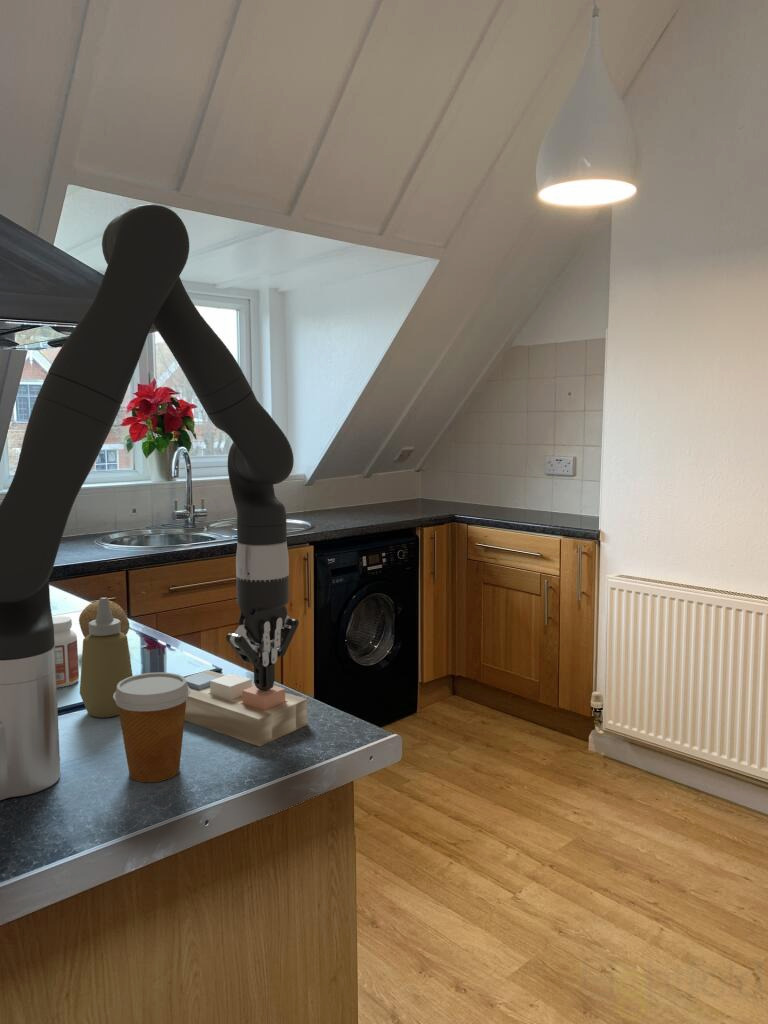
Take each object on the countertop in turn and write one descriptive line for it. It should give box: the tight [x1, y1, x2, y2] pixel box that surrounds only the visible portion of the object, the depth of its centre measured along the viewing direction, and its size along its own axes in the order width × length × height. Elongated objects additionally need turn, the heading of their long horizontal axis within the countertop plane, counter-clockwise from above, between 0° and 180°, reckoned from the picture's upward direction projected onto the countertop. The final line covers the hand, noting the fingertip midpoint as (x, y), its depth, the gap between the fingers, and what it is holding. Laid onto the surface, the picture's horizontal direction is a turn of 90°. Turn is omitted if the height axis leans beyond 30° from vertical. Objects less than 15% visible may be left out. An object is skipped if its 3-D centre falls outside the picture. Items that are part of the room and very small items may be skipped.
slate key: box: [184, 671, 219, 691], centre depth 130 cm, size 4×4×3 cm
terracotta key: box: [242, 684, 286, 711], centre depth 122 cm, size 4×4×3 cm
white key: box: [210, 673, 253, 701], centre depth 126 cm, size 4×4×3 cm
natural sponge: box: [78, 599, 130, 638], centre depth 159 cm, size 9×9×10 cm
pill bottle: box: [52, 616, 80, 689], centre depth 141 cm, size 6×6×11 cm
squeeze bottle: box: [79, 597, 134, 718], centre depth 127 cm, size 8×8×18 cm
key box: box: [184, 669, 308, 747], centre depth 126 cm, size 10×22×4 cm, turn 53°
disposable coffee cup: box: [113, 671, 190, 783], centre depth 107 cm, size 10×10×12 cm
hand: (264, 688), depth 121 cm, fingers closed
